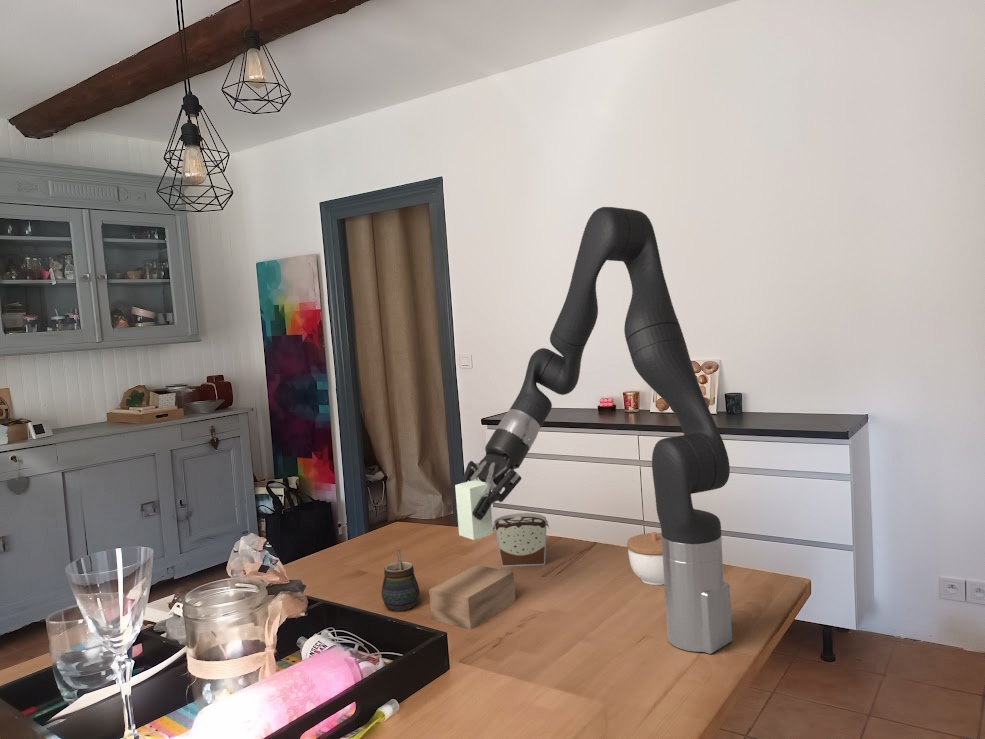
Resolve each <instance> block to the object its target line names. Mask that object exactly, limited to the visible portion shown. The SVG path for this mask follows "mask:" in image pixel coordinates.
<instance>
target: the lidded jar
mask: <svg viewBox="0 0 985 739" xmlns="http://www.w3.org/2000/svg"><path fill="white" fill-rule="evenodd" d="M626 546H627V547H626V548H627V553H628V559H629V563H630V568H631V569H632V571H633V572H634V574H635V575H636V576H637V577H638V578H639V579H640V580H641V582H642V583H644V584H646V585H651V586H662V585H664V568H663V550H662V534H661V532H659V533H658V532H656V531H655V532H649V533H647V532H646V533H640V534H637V535H634V536H631V537H630V538H629V539H628V540H627V541H626Z"/></svg>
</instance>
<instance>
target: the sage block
mask: <svg viewBox="0 0 985 739" xmlns="http://www.w3.org/2000/svg"><path fill="white" fill-rule="evenodd" d="M454 488H455V489H454V490H455V499H456V506H457V510H456V512H457V524H458V526H457V527H458V535H459V536H460V537H463V538H466V539H470V540H472V541H476V540H478V539H482V538H484V537H488V536H490V535H494V530H493V516H492V515H493V514H492V505H491V506H490V508H489V509H488V511H487V512H486V515H485V516H484V517H483V518H482V519H481V520H479V519H477V518H476V517H474V516H473V514H472V512H473V511H474V509H475V507H476V505H477V504H478V502H479V500H480V499H481V497H484V496H483V494H484V491H485V489H486V488H487V484H485V482H482V481H481V480H478V481H477V480H475V481H468V482H465V483H461V482H460V483H458V484H455V486H454Z"/></svg>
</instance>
